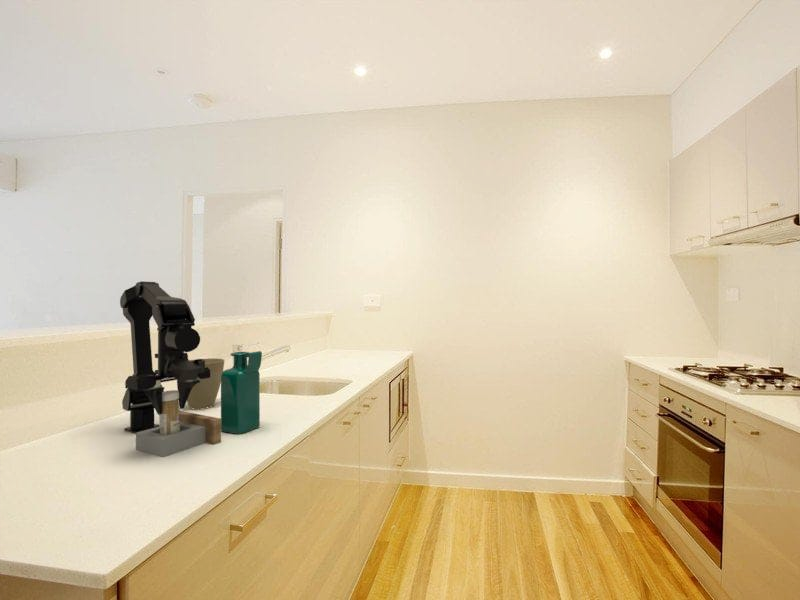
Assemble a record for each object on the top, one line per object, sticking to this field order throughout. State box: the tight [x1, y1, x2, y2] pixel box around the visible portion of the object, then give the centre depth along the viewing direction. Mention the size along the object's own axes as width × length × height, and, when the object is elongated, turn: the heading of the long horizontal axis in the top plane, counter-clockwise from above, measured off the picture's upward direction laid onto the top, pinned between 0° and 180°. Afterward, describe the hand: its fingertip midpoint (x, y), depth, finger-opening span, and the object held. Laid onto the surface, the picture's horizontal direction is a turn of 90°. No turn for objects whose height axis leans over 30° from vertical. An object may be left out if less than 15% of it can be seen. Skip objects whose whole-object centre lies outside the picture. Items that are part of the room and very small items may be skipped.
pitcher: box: [220, 350, 263, 435], centre depth 113 cm, size 10×8×22 cm
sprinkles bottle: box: [158, 389, 180, 435], centre depth 99 cm, size 5×5×13 cm
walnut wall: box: [179, 410, 222, 445], centre depth 105 cm, size 18×2×6 cm, turn 62°
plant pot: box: [186, 357, 225, 410], centre depth 138 cm, size 15×15×16 cm
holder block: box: [135, 422, 206, 458], centre depth 99 cm, size 11×11×4 cm
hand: (170, 411), depth 100 cm, fingers open, 5 cm apart
